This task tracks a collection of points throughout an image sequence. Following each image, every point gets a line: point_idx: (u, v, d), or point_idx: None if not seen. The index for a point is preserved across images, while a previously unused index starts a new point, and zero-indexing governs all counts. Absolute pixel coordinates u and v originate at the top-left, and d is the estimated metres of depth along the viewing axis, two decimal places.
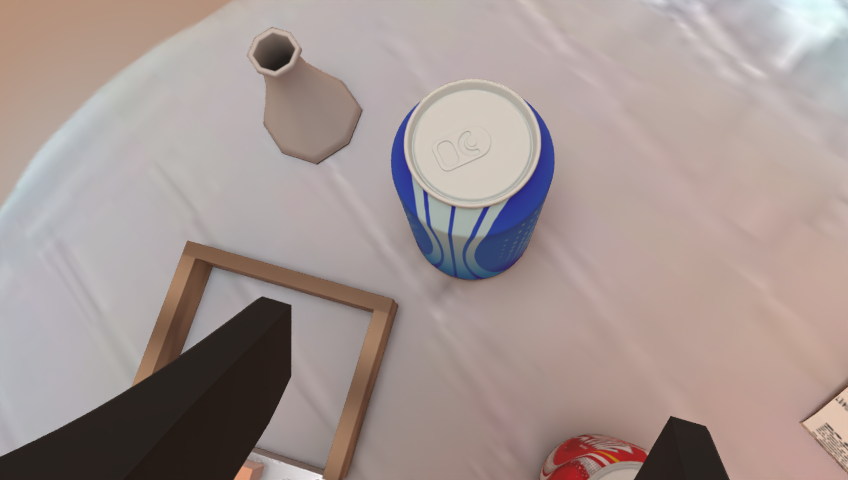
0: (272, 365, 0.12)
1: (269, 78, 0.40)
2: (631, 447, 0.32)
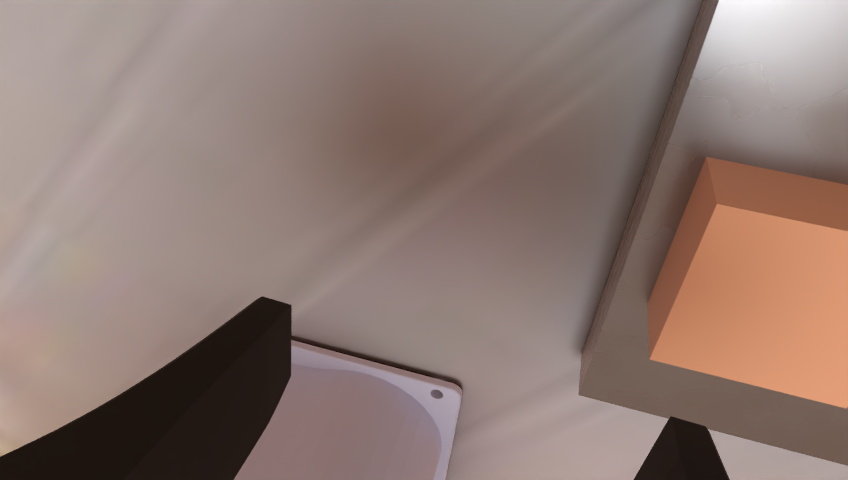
0: (272, 365, 0.12)
1: None
2: None
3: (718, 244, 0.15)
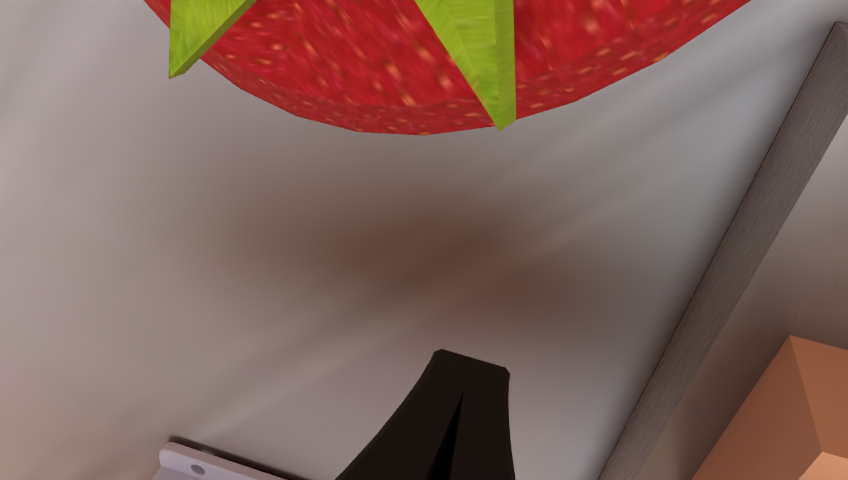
0: None
1: None
2: None
3: None
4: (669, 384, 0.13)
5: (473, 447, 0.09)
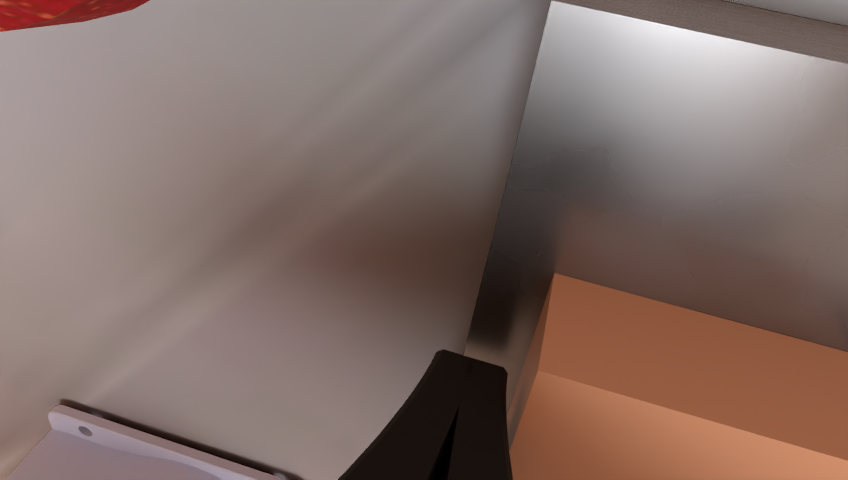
0: None
1: None
2: None
3: (546, 420, 0.10)
4: None
5: (471, 446, 0.09)
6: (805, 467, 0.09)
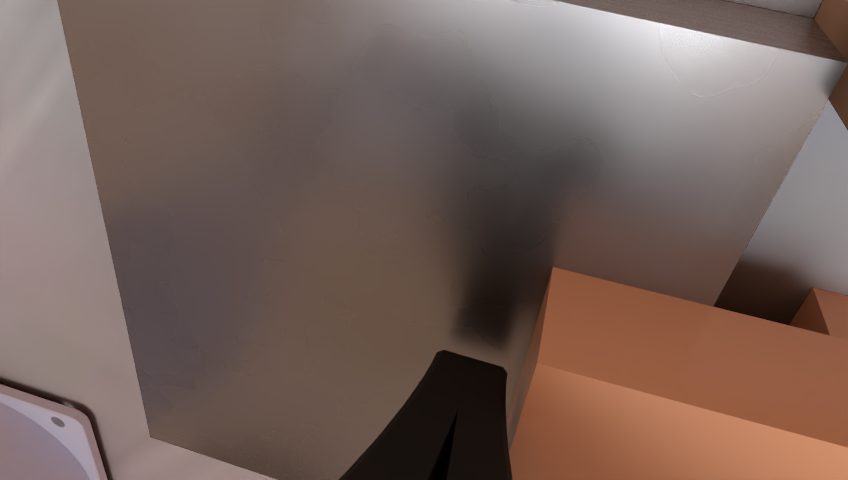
0: None
1: None
2: None
3: (548, 415, 0.10)
4: None
5: (470, 446, 0.09)
6: (809, 456, 0.09)
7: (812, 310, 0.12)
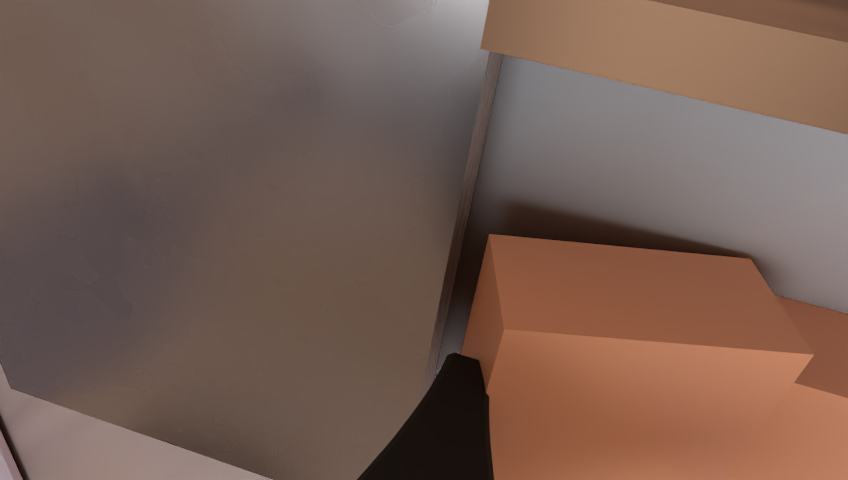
0: None
1: None
2: None
3: (515, 375, 0.10)
4: None
5: (452, 440, 0.09)
6: (742, 365, 0.10)
7: None
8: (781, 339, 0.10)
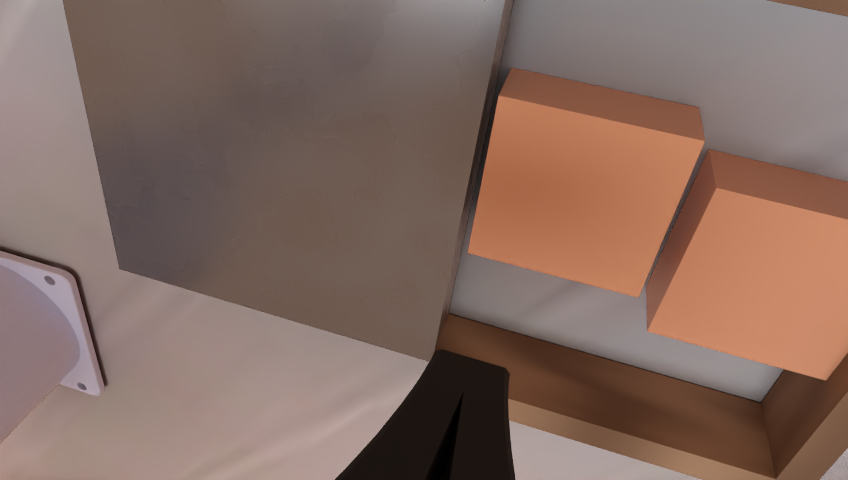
0: None
1: None
2: None
3: (505, 135, 0.16)
4: None
5: (473, 447, 0.09)
6: (655, 145, 0.15)
7: (706, 161, 0.17)
8: (686, 132, 0.15)
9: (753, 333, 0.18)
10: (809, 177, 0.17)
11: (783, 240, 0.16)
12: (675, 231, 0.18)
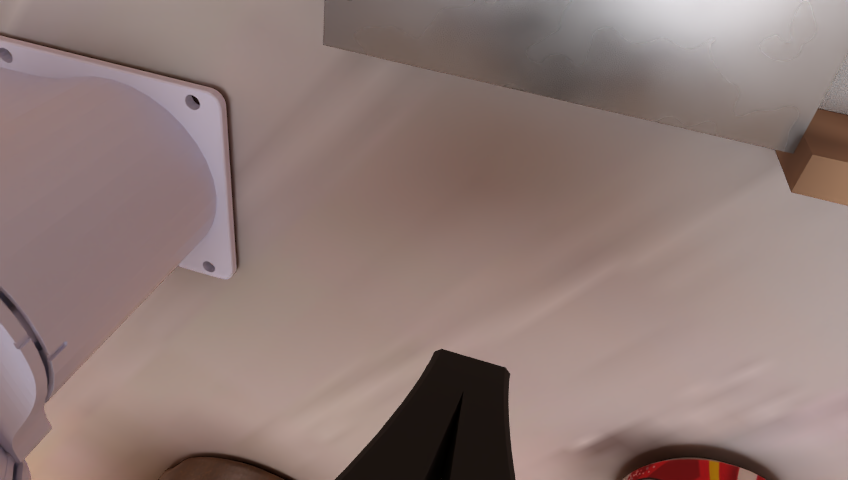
0: None
1: None
2: None
3: None
4: None
5: (473, 447, 0.09)
6: None
7: None
8: None
9: None
10: None
11: None
12: None
